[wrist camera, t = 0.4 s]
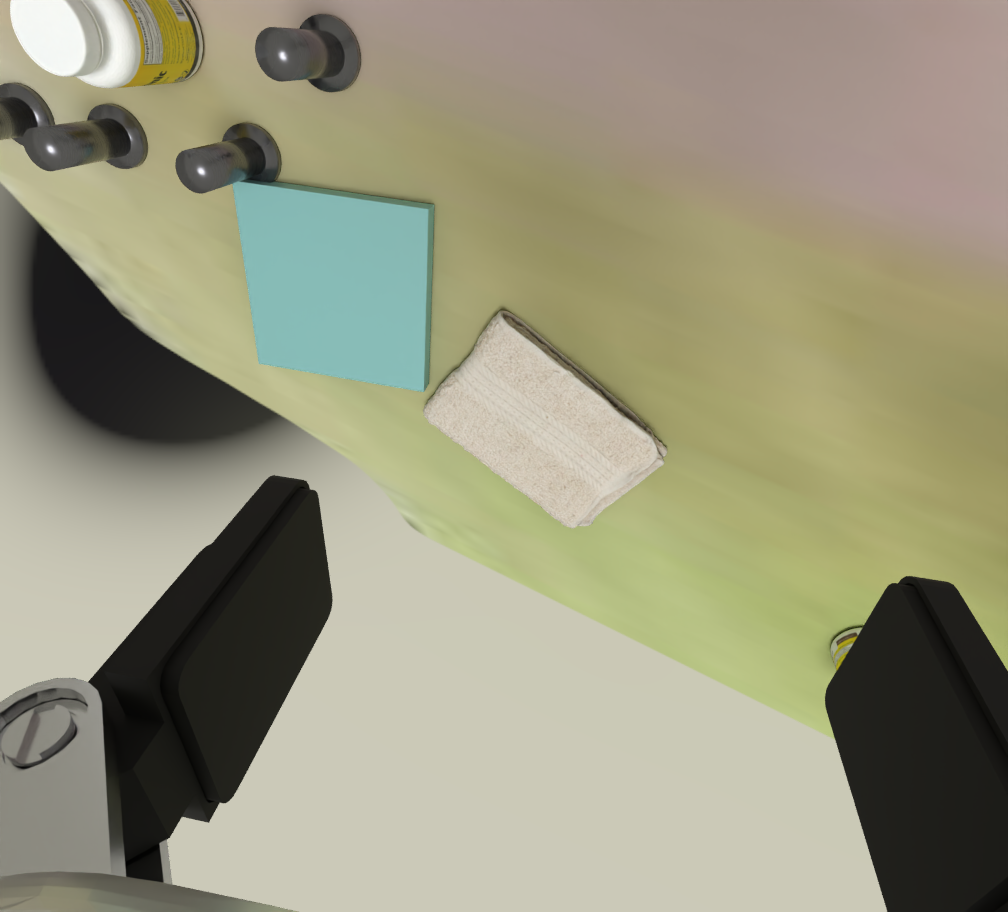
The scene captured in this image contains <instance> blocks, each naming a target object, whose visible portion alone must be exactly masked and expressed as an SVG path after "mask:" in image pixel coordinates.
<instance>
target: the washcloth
mask: <svg viewBox="0 0 1008 912" xmlns="http://www.w3.org/2000/svg"><path fill="white" fill-rule="evenodd" d="M423 413H424V416H425V418H427V419H428V422H429V423H430V424H432V425H435V426H436V427H437V428H438V429H439V430H440V431H441V432H442V433H444V434H445V435H446V436H449V437H450V438H451V439H453V441H454V442H455V443H458V444H460V445H461V446H463V448H464V450H466V451H468V452H470V453H471V454H472V455H473V456H475V457H476V458H477V459H479V461H480V462H482V463H484V464H485V465H487V466H488V467H489V468H490V469H491V470H492V471H493V473H497V474H498V475H500V476H501V477H502V478H504V479H505V481H507V482H509V483H510V484H511V485H513V487H514V488H516V489H518V490H519V491H521V492H522V493H524V494H525V495H526V496H528V497H529V499H532V500H533V501H534V502H535V503H537V504H538V505H541V508H543V509H544V510H545V511H546V512H548V513H549V515H550V516H553V518H555V519H556V520H559V521H560V522H561V523H562V524H563V525H564V526H568V527H570V528H575V527H576V526H588V525H590V524H592V523H593V520H594V519H595V517H596V516H597V515H598V514H599V513H600V512H602V511H603V510H604V509H605V508H606V507H607V506H609V505H610V504H612V503H613V502H615V501H616V500H617V499H619V498H620V497H621V496H622V495H624V494H625V493H626V492H628V491H629V490H630V489H632V488H633V487H634V486H636V485H637V484H639V483H640V482H641V481H642V480H644V479H645V478H646V477H647V476H649V475H650V474H651V473H652V472H653V471H655V470H656V469H657V468H659V467H661V466H662V465H663V464H664V460H663V457H664V456H665V455H666V454H667V449H666V447H665V446H663V444H662V442H659V441H658V440H657V437H654V435H653V433H652V431H651V430H650V429H649V428H648V427H646V426H645V424H644V423H643V422H641V421H640V420H639V418H638V417H637V416H636V415H635V414H634V413H633V412H632V411H631V410H629V409H628V408H627V407H626V406H625V405H623V404H622V403H621V402H620V401H619V400H618V399H616V398H615V397H614V396H612V395H611V394H610V393H609V392H608V391H607V390H605V389H604V388H603V387H602V386H601V385H599V384H598V383H597V382H596V381H595V380H594V379H592V378H591V377H590V376H588V374H586V373H585V372H584V371H583V370H582V369H580V368H579V367H578V366H576V365H575V364H574V363H573V362H571V361H570V360H569V359H568V358H567V357H565V356H564V355H563V354H562V353H560V352H559V351H558V350H556V349H555V348H554V347H553V346H552V345H551V344H550V343H548V342H547V341H546V340H544V339H543V338H542V337H541V336H540V335H539V334H538V333H537V332H535V331H534V330H533V329H532V328H530V327H529V326H528V325H527V324H526V323H524V322H523V321H522V320H521V319H519V318H518V317H516V316H515V315H513V314H512V313H510V312H507V311H499V312H498V314H497V315H496V316H495V317H493V318H492V319H491V321H490V323H489V324H488V326H487V327H486V329H485V330H484V331H483V332H482V334H481V335H480V337H479V339H478V341H477V343H476V344H475V347H474V350H473V351H472V352H471V354H470V355H469V356H468V357H467V358H466V360H464V361H463V362H462V364H461V365H460V367H459V368H458V369H455V370H453V372H452V373H451V374H450V375H449V376H448V377H447V378H446V379H445V380H444V382H443V383H442V384H441V385H440V386H439V387H438V390H436V391H435V394H434V395H433V396H432V397H431V399H429V401H428V403H427V404H426V405H425V406H424V409H423Z"/></svg>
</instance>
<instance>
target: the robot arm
mask: <svg viewBox="0 0 1008 912" xmlns="http://www.w3.org/2000/svg"><path fill="white" fill-rule="evenodd" d="M331 607H332V591H331V584H330V577H329V570H328V562H327V555H326V549H325V541H324V534H323V527H322V520H321V513H320V505H319V498H318V494H317V492H316V491H314V490H310V488H309V485H308V483H307V482H306V481H304V480H299V479H294V478H287V477H280V476H275V475H274V476H270V477H269V478H268V479H267V480H266V481H265V482H264V483H263V484H262V485H261V487H260V488H259V489H258V490H257V491H256V493H255V494H254V495H253V496H252V497H251V498H250V499H249V501H248V502H247V503H246V504H245V505H244V507H243V508H242V509H241V510H240V511H239V512H238V514H237V515H236V516H235V517H234V518H233V520H232V521H231V522H230V523H229V524H228V525H227V527H226V528H225V529H224V530H223V531H222V532H221V534H220V535H219V536H218V537H217V538H216V539H215V541H214V542H213V543H212V544H210V545H208V546H206V547H205V548H204V549H203V550H202V551H201V552H199V554H198V555H197V556H196V557H195V558H194V559H193V561H192V562H191V563H190V564H189V565H188V566H187V568H186V569H185V570H184V571H183V572H182V573H181V574H180V576H179V577H178V578H177V579H176V580H175V582H174V583H173V584H172V585H171V586H170V587H169V588H168V590H167V591H166V592H165V593H164V594H163V596H162V597H161V598H160V599H159V600H158V601H157V602H156V604H155V605H154V606H153V607H152V608H151V609H150V611H149V612H148V613H147V614H146V615H145V616H144V618H143V619H142V620H141V621H140V622H139V624H138V625H137V626H136V627H135V628H134V629H133V630H132V632H131V633H130V634H129V635H128V636H127V637H126V639H125V640H124V641H123V642H122V643H121V644H120V646H119V647H118V648H117V649H116V650H115V651H114V652H113V654H112V655H111V656H110V657H109V658H108V659H107V661H106V662H105V663H104V664H103V665H102V667H101V668H100V669H99V670H98V671H97V672H96V674H95V675H94V676H93V677H92V678H91V679H90V680H89V682H86V681H83V680H79V679H76V678H56V679H51V680H48V681H44V682H39V683H36V684H33V685H31V686H29V687H26V688H24V689H22V690H19V691H17V692H15V693H14V694H13V695H11V696H9V697H8V698H6V699H5V700H3V701H2V702H0V912H297V911H293V910H288V909H283V908H280V907H275V906H271V905H266V904H262V903H256V902H252V901H247V900H243V899H238V898H233V897H228V896H223V895H219V894H214V893H209V892H204V891H200V890H195V889H190V888H185V887H181V886H176V885H172V878H171V870H170V861H169V854H168V845H167V839H168V838H170V836H171V834H172V833H173V831H174V829H175V827H176V826H177V824H178V822H179V821H180V819H181V817H186V818H191V819H195V820H200V821H204V822H209V821H210V819H211V817H212V816H213V814H214V812H215V810H216V808H217V806H218V804H219V803H227V802H228V801H229V800H230V799H231V798H232V797H233V796H234V794H235V792H236V790H237V789H238V787H239V785H240V783H241V782H242V780H243V777H244V776H245V774H246V772H247V770H248V768H249V766H250V764H251V763H252V761H253V759H254V757H255V755H256V753H257V751H258V749H259V748H260V745H261V744H262V742H263V740H264V738H265V736H266V734H267V732H268V730H269V729H270V727H271V725H272V723H273V721H274V719H275V717H276V715H277V714H278V712H279V710H280V708H281V706H282V704H283V702H284V700H285V699H286V697H287V695H288V693H289V691H290V689H291V687H292V685H293V683H294V682H295V680H296V678H297V676H298V674H299V672H300V670H301V668H302V666H303V665H304V663H305V661H306V659H307V657H308V655H309V653H310V651H311V650H312V648H313V646H314V644H315V642H316V640H317V638H318V636H319V635H320V633H321V631H322V629H323V627H324V625H325V623H326V621H327V619H328V617H329V614H330V612H331ZM825 705H826V710H827V714H828V717H829V720H830V724H831V727H832V730H833V733H834V737H835V740H836V743H837V747H838V750H839V753H840V757H841V760H842V763H843V766H844V770H845V773H846V776H847V780H848V783H849V786H850V790H851V793H852V796H853V799H854V802H855V806H856V809H857V813H858V816H859V819H860V822H861V826H862V829H863V832H864V836H865V839H866V842H867V845H868V849H869V852H870V855H871V859H872V862H873V865H874V868H875V872H876V875H877V878H878V882H879V885H880V888H881V892H882V895H883V898H884V901H885V905H886V908H887V912H1008V671H1007V669H1006V668H1005V666H1004V664H1003V663H1002V661H1001V660H1000V658H999V656H998V655H997V653H996V651H995V650H994V648H993V647H992V645H991V643H990V642H989V640H988V638H987V637H986V635H985V634H984V632H983V630H982V629H981V627H980V625H979V624H978V622H977V621H976V619H975V617H974V616H973V614H972V612H971V611H970V609H969V608H968V606H967V604H966V603H965V601H964V599H963V598H962V596H961V595H960V593H959V591H958V590H957V589H956V588H955V586H954V585H953V584H951V583H949V582H944V581H938V580H932V579H925V578H919V577H913V576H906V577H904V578H902V579H901V580H900V582H899V583H898V584H897V583H892V584H890V585H889V586H888V587H887V588H886V589H885V591H884V593H883V594H882V596H881V598H880V600H879V601H878V603H877V605H876V606H875V608H874V610H873V611H872V613H871V615H870V616H869V618H868V620H867V621H866V623H865V625H864V626H863V628H862V630H861V631H860V633H859V635H858V636H857V638H856V640H855V641H854V643H853V645H852V646H851V648H850V650H849V651H848V653H847V655H846V656H845V658H844V660H843V661H842V663H841V665H840V666H839V668H838V670H837V671H836V673H835V675H834V677H833V678H832V680H831V682H830V683H829V685H828V687H827V690H826V695H825Z"/></svg>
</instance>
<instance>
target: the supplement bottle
mask: <svg viewBox="0 0 1008 912" xmlns="http://www.w3.org/2000/svg"><path fill="white" fill-rule="evenodd" d="M10 15H11V21H12V25H13V28H14V31H15V34H16V36H17V38H18V40H19V42H20V44H21V45H22V47H23V48H24V50H25V51H26V53H27V54H28V55H29V56H30V57H31V58H32V59H33V60H34V62H36V63H37V64H38V65H39V66H40V67H42V68H43V69H45V70H46V71H48V72H50V73H52V74H55V75H58V76H64V77H69V76H76V77H77V78H79V79H80V80H82V81H84V82H86V83H88V84H90V85H93V86H96V87H101V88H121V87H133V86H145V85H155V84H165V83H175V82H181V81H184V80H186V79H188V78H190V77H191V76H192V75H193V74H194V73H195V72H196V71H197V69H198V67H199V66H200V63H201V59H202V54H203V41H202V35H201V30H200V27H199V24H198V21H197V19H196V17H195V15H194V13H193V11H192V9H191V8H190V6H189V5H188V3H187V2H186V1H185V0H11V4H10Z"/></svg>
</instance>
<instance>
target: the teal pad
mask: <svg viewBox="0 0 1008 912" xmlns="http://www.w3.org/2000/svg"><path fill="white" fill-rule="evenodd" d="M233 190H234V197H235V204H236V211H237V218H238V225H239V231H240V238H241V245H242V252H243V259H244V265H245V272H246V279H247V286H248V293H249V300H250V306H251V313H252V320H253V327H254V334H255V340H256V347H257V354H258V361H259V364H264V365H270V366H276V367H281V368H287V369H293V370H299V371H305V372H310V373H316V374H322V375H328V376H334V377H339V378H345V379H351V380H357V381H363V382H368V383H374V384H380V385H386V386H392V387H397V388H403V389H409V390H415V391H421V392H424V391H425V389H426V388H427V386H428V384H429V363H430V330H431V298H432V266H433V233H434V204H427V203H420V202H413V201H406V200H399V199H392V198H385V197H378V196H372V195H365V194H358V193H351V192H344V191H337V190H330V189H323V188H317V187H310V186H303V185H296V184H289V183H282V182H275V181H274V182H271V183H268V182H261V181H254V180H247V179H245V180H242V181H239V182H236V183H233Z"/></svg>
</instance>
